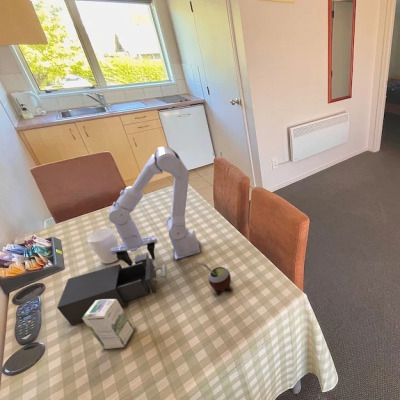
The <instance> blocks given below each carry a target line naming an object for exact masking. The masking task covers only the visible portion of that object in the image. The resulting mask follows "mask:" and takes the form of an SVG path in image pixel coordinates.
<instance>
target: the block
mask: <svg viewBox="0 0 400 400" xmlns="http://www.w3.org/2000/svg"><path fill="white" fill-rule="evenodd" d="M149 258H150V256H149V254H148V252H145V253H141V254H137V255H135V258H134V264H138V263H141V262H143V264H144V266H145V268H146V261H147V259H149Z"/></svg>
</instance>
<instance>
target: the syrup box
mask: <svg viewBox="0 0 400 400" xmlns="http://www.w3.org/2000/svg"><path fill="white" fill-rule="evenodd" d="M82 319H83V320H84V321H83V322H84V323H85V324H86V326H87V328H88V329H89V330H90V331H91V333H92V334H93V336H94V337H95V338H96V340H97V342H99V344H100V346H101V347H102V348H103V349H104V350H109V349H119V348H120V349H121V348H125V347H126V345H127V343H128V342H129V340H130V338H131V337H132V334H133V333H134V331H135V328H134V327H133V325H132V323H131V321H130V320H129V318H128V316H127V315H126V313H125V311H124V309H123V308H121V306H120V304H119V302H118V301H117V299H102V300H96V301H95V302H94V303H93V305H92V306H91V307H90V308H89V310H88V311H87V312H86V314H85V315H84V316H83V317H82Z"/></svg>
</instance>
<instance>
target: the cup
mask: <svg viewBox="0 0 400 400" xmlns="http://www.w3.org/2000/svg"><path fill="white" fill-rule="evenodd" d="M85 242H86V243H87V245H88V247H89V249H90V250H91V251H92V252H93V253H94V254H95V255H96V257H98V259H99V260H100V262H102V264H112V263H114V262H117V261H118V260H119V259H118V258H117V254H115V255H113V254H112V253H111V248H114V247H117V246H119V245H120V242H119V240H118V236H117V234H116V233H115V231H114V229H113V228H109V227H105V228H100V229H97V230H94V231H92V232H91V233H89V234H87V236H86V237H85Z"/></svg>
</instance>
